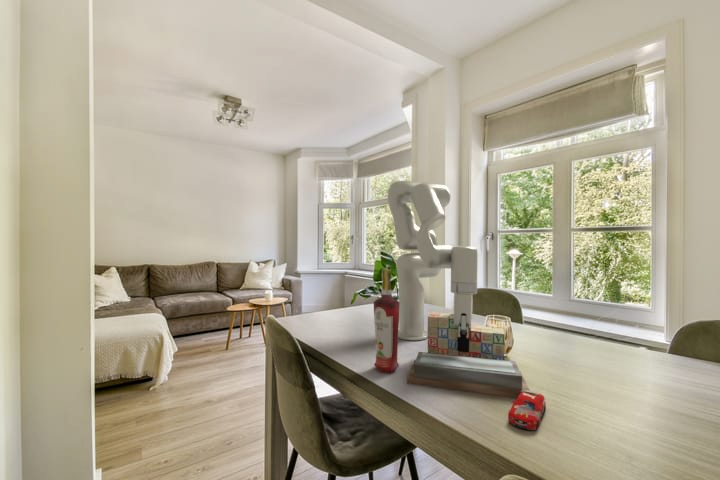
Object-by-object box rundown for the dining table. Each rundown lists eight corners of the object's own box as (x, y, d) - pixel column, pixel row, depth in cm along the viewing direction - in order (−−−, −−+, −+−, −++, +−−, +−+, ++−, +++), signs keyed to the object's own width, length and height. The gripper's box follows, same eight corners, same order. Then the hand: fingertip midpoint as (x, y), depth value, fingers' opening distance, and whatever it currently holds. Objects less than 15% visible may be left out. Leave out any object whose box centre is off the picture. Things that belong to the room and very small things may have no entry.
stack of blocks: (503, 359, 95) (504, 318, 95) (504, 367, 89) (505, 323, 89) (430, 349, 103) (430, 311, 103) (426, 356, 97) (427, 315, 97)
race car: (535, 437, 59) (535, 415, 59) (504, 426, 63) (504, 405, 63) (549, 408, 69) (549, 390, 69) (522, 400, 73) (522, 383, 73)
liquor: (368, 370, 90) (368, 269, 90) (382, 362, 96) (382, 268, 96) (390, 377, 85) (390, 271, 86) (404, 368, 91) (404, 269, 91)
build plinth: (414, 365, 94) (414, 349, 94) (520, 376, 85) (520, 359, 85) (407, 383, 81) (407, 365, 81) (530, 399, 73) (530, 378, 73)
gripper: (451, 283, 106) (450, 337, 106) (449, 291, 89) (449, 356, 89) (475, 284, 103) (475, 339, 104) (478, 293, 87) (477, 359, 87)
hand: (463, 346), depth 96 cm, fingers closed on stack of blocks, 6 cm apart
